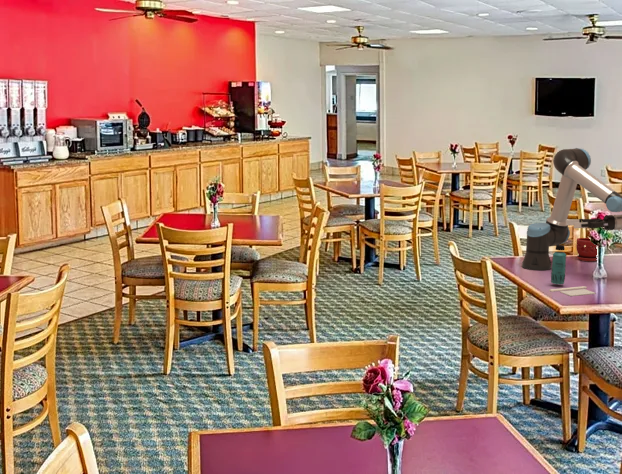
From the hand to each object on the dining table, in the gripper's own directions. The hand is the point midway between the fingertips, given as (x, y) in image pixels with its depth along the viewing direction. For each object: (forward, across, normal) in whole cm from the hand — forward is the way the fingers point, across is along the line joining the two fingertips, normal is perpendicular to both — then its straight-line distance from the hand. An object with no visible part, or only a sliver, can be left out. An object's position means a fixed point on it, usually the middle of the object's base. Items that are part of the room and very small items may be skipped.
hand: (569, 224), depth 393 cm
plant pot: (-24, +49, -27) cm, 61 cm away
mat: (+4, -26, -29) cm, 40 cm away
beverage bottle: (+9, -12, -29) cm, 33 cm away
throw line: (+6, -20, -29) cm, 36 cm away
